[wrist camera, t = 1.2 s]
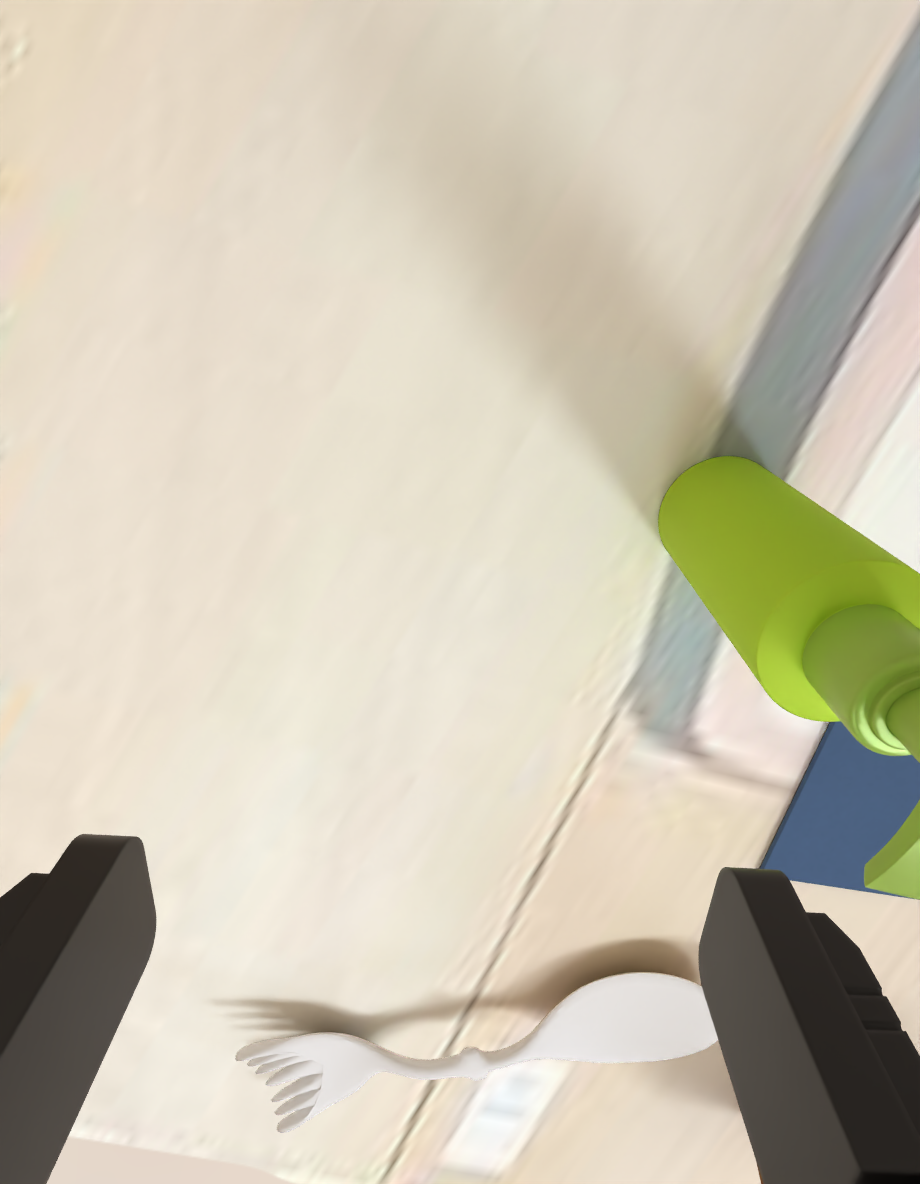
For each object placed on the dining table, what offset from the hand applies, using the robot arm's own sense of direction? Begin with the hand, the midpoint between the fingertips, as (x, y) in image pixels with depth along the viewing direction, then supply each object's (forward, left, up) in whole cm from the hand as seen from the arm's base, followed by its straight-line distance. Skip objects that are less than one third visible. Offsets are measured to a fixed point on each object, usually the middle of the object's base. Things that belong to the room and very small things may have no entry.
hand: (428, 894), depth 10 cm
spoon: (+39, +9, -26) cm, 48 cm away
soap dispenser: (+1, +13, -26) cm, 29 cm away
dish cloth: (+15, +29, -26) cm, 42 cm away
